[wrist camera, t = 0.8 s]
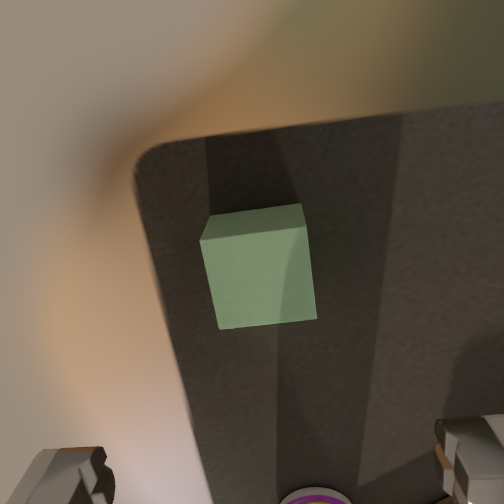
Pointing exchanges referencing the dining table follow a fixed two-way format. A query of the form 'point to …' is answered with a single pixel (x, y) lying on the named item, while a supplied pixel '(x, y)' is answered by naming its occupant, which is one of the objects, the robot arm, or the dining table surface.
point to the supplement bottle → (315, 496)
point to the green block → (259, 266)
